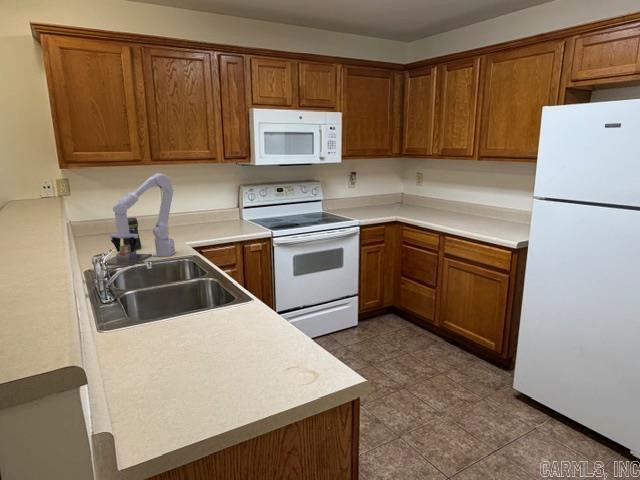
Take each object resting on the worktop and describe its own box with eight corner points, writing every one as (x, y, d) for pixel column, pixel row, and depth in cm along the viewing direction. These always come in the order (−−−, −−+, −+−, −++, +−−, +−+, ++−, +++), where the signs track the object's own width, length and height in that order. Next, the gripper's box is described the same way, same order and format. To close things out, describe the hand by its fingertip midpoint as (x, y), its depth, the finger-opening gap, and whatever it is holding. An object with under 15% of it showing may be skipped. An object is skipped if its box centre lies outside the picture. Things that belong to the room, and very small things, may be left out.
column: (132, 256, 217) (131, 244, 216) (128, 258, 213) (126, 246, 212) (125, 256, 218) (123, 244, 216) (121, 258, 214) (119, 246, 212)
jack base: (152, 255, 224) (151, 248, 223) (134, 265, 206) (132, 257, 205) (121, 256, 226) (120, 248, 225) (100, 265, 208) (99, 257, 207)
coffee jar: (141, 246, 246) (137, 216, 242) (141, 249, 239) (137, 218, 234) (124, 248, 242) (119, 217, 238) (123, 251, 235) (118, 219, 231)
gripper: (104, 227, 209) (108, 253, 212) (131, 227, 207) (134, 253, 210) (112, 225, 216) (116, 250, 219) (138, 224, 214) (142, 250, 217)
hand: (126, 251), depth 215 cm, fingers open, 7 cm apart
